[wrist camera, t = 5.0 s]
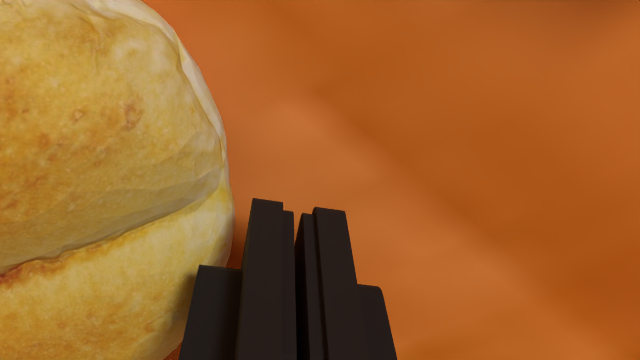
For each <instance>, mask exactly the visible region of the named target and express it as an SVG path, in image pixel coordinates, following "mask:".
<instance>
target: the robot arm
mask: <svg viewBox="0 0 640 360" xmlns="http://www.w3.org/2000/svg"><path fill="white" fill-rule="evenodd" d="M179 360H397V356H396V352H395V347H394V343H393V338H392V334H391V329H390V325H389V320H388V316H387V311H386V307H385V302H384V298H383V294H382V291H381V289H380V288H379V287H377V286H369V285H361V284H357V279H356V273H355V267H354V261H353V255H352V249H351V243H350V237H349V231H348V226H347V220H346V214H345V211H341V210H334V209H327V208H320V207H314V209H313V212H312V214H306V213H302V215H301V218H300V222H299V227H298V232H297V236H296V241H295V246H294V213H293V212H292V211H284V210H283V202H277V201H270V200H263V199H256V198H253V200H252V205H251V211H250V217H249V223H248V229H247V235H246V242H245V248H244V254H243V260H242V266H241V270H240V269H232V268H224V267H216V266H208V265H200V264H199V267H198V271H197V276H196V280H195V285H194V290H193V294H192V299H191V304H190V308H189V313H188V318H187V323H186V327H185V332H184V337H183V341H182V346H181V351H180V355H179Z"/></svg>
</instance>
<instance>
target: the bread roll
mask: <svg viewBox="0 0 640 360" xmlns="http://www.w3.org/2000/svg"><path fill="white" fill-rule="evenodd" d="M234 230H235V208H234V198H233V195H232V192H231V184H230V182H229V164H228V157H227V141H226V135H225V131H224V127H223V122H222V119H221V116H220V114H219V111H218V109H217V107H216V104H215V102H214V99H213V97H212V95H211V92H210V90H209V88H208V86H207V84H206V82H205V80H204V78H203V75H202V73H201V71H200V68H199V67H198V65H197V64H196V63H195V61H194V60H193V58H192V57H191V55H190V54H189V53H188V51H187V50H186V48H185V47H184V46H183V44H182V43H181V41H180V39H179V38H178V36H177V35H176V33H175V31H174V29H173V28H172V27H171V26H170V25H169V24H168V23H167V22H166V21H165V20H164V19H163V18H162V17H161V16H160V15H159V14H158V13H157V12H156V11H155V10H153V9H152V8H150V7H149V6H147V5H146V4H145V3H143V2H142V1H141V0H0V360H164V359H165V358H166V357H167V356H168V355H169V354H170V353H171V352H172V351H174V350H175V349H176V348H177V347H178V345H179V344H180V343H181V342H182V340H183V337H184V332H185V327H186V323H187V318H188V313H189V308H190V304H191V299H192V294H193V290H194V285H195V280H196V276H197V271H198V267H199V264H200V265H208V266H216V267H224V268H226V265H227V262H228V259H229V257H230V253H231V247H232V241H233V236H234Z"/></svg>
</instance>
